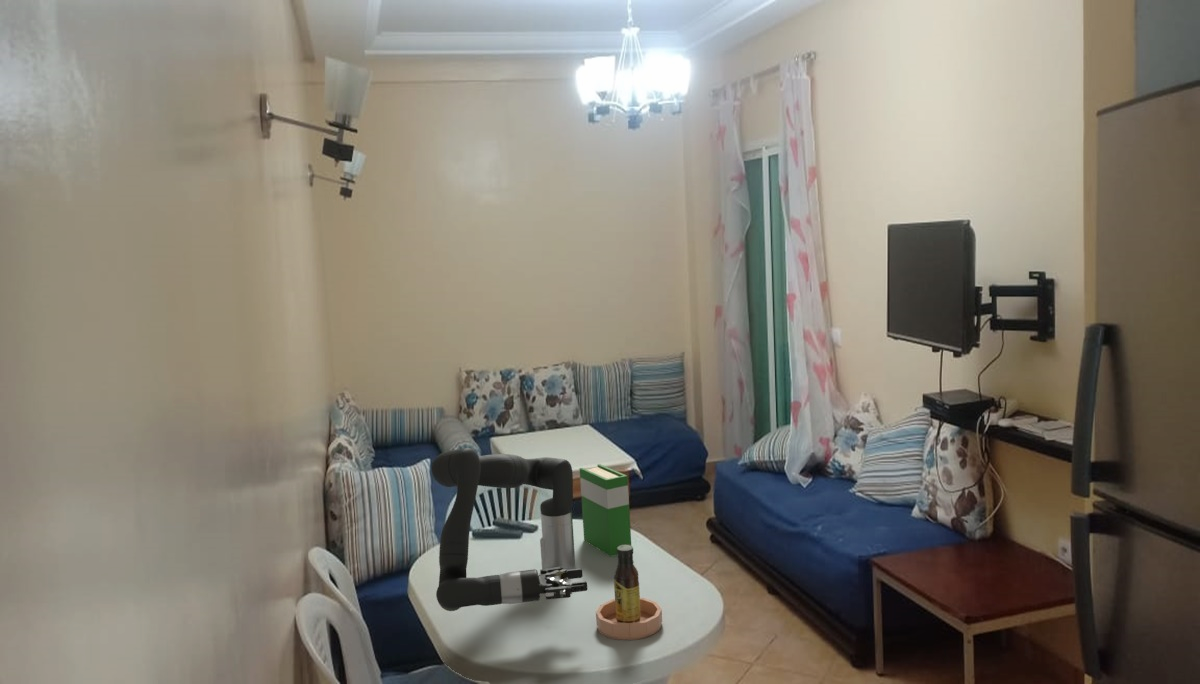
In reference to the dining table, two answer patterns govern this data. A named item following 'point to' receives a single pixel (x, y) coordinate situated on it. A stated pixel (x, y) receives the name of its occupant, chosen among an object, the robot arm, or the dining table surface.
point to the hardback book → (605, 508)
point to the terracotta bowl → (629, 631)
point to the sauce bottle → (626, 587)
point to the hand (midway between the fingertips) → (584, 579)
